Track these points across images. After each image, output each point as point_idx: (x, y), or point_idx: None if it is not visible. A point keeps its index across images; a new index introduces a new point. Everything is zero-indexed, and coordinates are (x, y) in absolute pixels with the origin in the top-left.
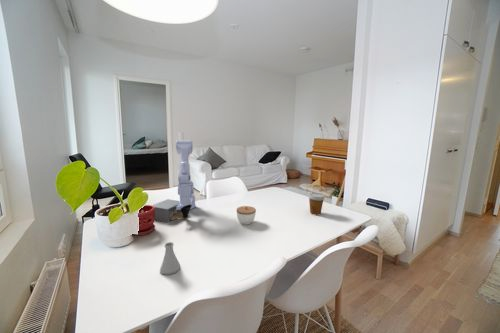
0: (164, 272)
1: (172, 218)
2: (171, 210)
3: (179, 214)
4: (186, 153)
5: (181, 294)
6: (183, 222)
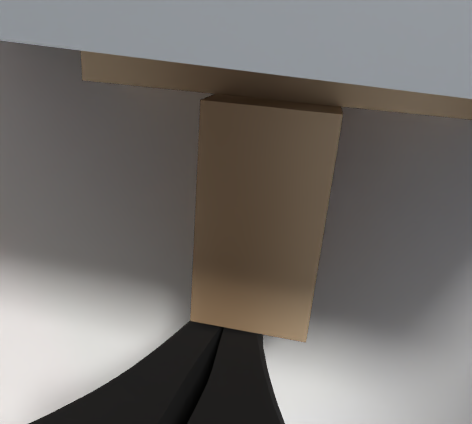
0: None
1: (93, 59)
2: None
3: (204, 218)
4: None
5: None
6: (109, 327)
